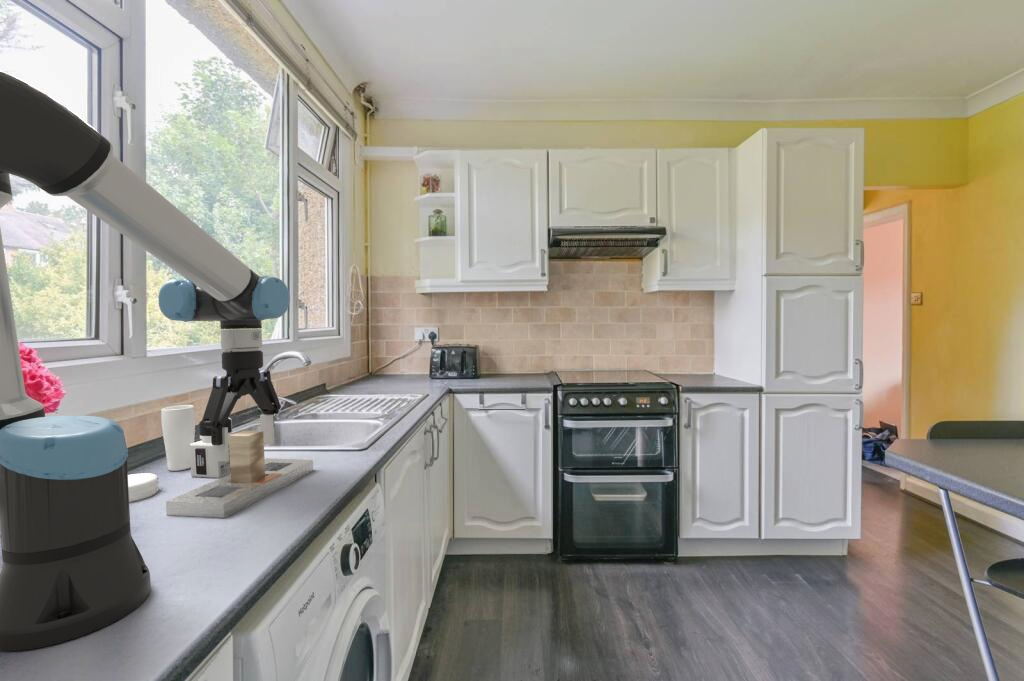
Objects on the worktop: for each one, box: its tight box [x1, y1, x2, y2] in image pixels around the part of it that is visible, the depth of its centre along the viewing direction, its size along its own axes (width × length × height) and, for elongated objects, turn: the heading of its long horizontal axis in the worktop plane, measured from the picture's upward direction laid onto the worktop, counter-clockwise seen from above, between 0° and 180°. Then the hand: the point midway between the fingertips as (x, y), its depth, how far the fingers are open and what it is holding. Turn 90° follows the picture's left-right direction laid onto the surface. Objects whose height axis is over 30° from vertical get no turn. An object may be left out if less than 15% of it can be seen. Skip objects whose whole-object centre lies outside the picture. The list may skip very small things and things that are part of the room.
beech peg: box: [229, 430, 266, 483], centre depth 103 cm, size 4×4×12 cm
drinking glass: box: [160, 404, 196, 472], centre depth 120 cm, size 7×7×15 cm
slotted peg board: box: [165, 458, 314, 519], centre depth 103 cm, size 28×12×3 cm, turn 170°
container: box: [190, 416, 233, 479], centre depth 116 cm, size 8×8×13 cm
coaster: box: [128, 472, 160, 503], centre depth 101 cm, size 10×10×4 cm
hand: (246, 452), depth 103 cm, fingers open, 13 cm apart
